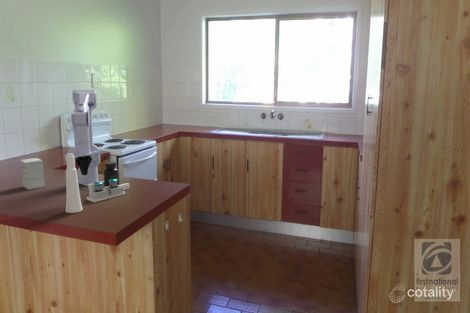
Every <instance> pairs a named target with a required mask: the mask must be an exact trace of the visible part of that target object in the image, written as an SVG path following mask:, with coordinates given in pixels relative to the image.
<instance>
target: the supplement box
mask: <svg viewBox="0 0 470 313" xmlns="http://www.w3.org/2000/svg"><path fill="white" fill-rule="evenodd" d="M43 163H44V162H43V160H42V159H40V158H38V157H35V158H26V159H20V169H21V179H22V187H23V188H25V189H26V190H27V191H28V190H33V189H39V188H44V187H45V185H46V184H45V174H44V164H43Z"/></svg>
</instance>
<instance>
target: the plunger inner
mask: <svg viewBox="0 0 470 313" xmlns="http://www.w3.org/2000/svg"><path fill="white" fill-rule="evenodd" d="M117 181H118V180H117V179H109V182H110V188H111V189H114V188H117Z"/></svg>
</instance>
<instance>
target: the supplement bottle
mask: <svg viewBox="0 0 470 313" xmlns="http://www.w3.org/2000/svg"><path fill="white" fill-rule="evenodd" d="M102 173H103V181H104V187H107V186H110V182H109V179H117V180H118V181H117V185H121V184H120V181H121V180H120V179H121V178H120V169H119V168H118V167H117V162H116V161H110V162H108V161H107V162H105V163H104V169H103V170H102ZM104 187H103V188H104Z"/></svg>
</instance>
